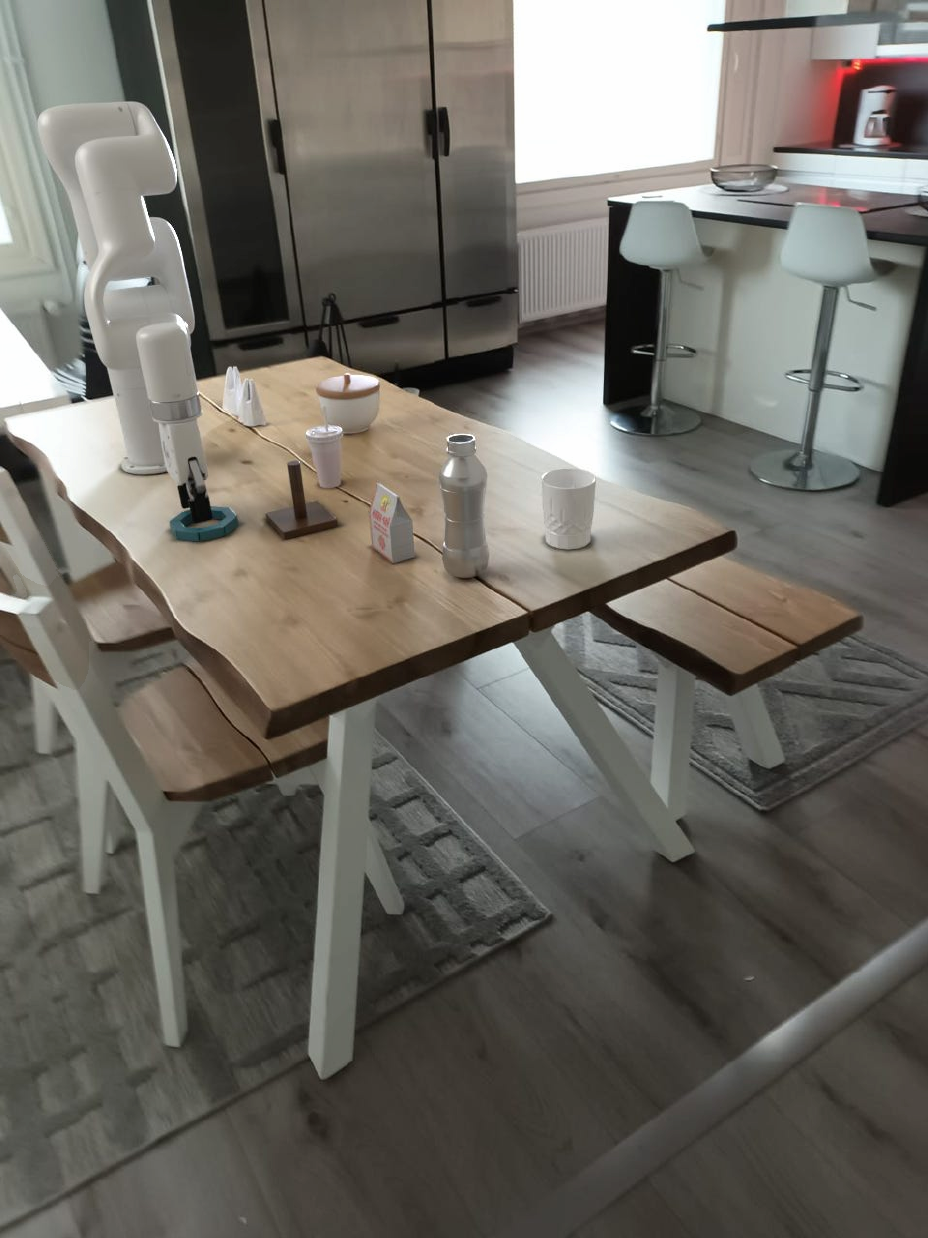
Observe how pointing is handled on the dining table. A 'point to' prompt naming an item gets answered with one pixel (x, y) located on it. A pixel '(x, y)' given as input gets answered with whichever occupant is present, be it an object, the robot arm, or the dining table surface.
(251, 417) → the white twin peak shape
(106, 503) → the dining table surface
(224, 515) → the ring
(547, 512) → the white cup
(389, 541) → the white milk carton
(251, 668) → the dining table surface
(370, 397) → the lidded bowl
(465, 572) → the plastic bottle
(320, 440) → the smoothie
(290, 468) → the brown peg stand
